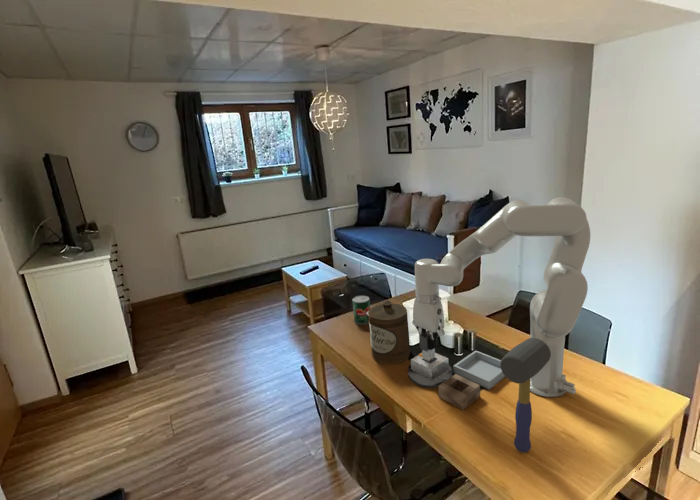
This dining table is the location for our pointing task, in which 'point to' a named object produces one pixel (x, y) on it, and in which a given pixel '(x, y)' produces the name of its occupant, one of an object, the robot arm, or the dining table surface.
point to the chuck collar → (430, 366)
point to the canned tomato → (361, 309)
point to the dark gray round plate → (427, 382)
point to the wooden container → (389, 333)
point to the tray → (480, 369)
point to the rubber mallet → (524, 383)
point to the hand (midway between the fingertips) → (428, 346)
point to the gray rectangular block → (426, 347)
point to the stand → (459, 391)
